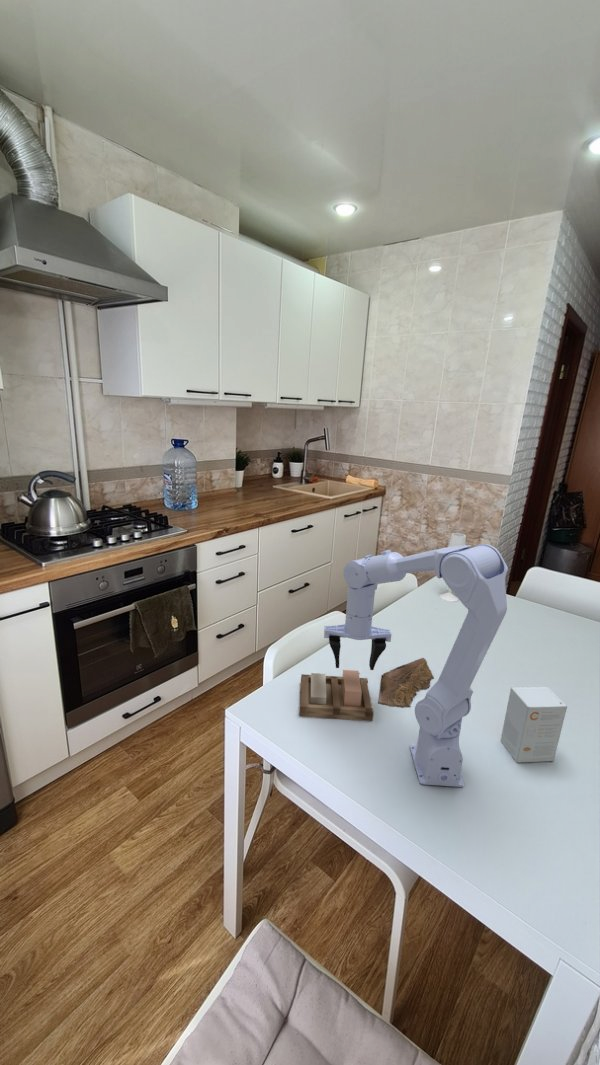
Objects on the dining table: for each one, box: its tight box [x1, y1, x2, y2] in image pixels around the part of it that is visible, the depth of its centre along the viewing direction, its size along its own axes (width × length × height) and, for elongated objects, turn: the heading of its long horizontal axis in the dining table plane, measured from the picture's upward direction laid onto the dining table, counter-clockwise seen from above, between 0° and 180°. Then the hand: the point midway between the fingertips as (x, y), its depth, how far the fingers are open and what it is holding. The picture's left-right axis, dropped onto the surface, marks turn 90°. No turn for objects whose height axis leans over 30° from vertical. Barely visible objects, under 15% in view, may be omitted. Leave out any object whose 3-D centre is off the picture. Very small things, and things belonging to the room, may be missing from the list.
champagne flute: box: [439, 532, 467, 603], centre depth 160 cm, size 7×7×24 cm
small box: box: [500, 686, 568, 763], centre depth 89 cm, size 8×6×13 cm
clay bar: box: [341, 669, 362, 707], centre depth 102 cm, size 8×4×5 cm, turn 178°
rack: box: [299, 672, 375, 722], centre depth 103 cm, size 16×12×4 cm
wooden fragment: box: [377, 657, 435, 708], centre depth 112 cm, size 26×11×1 cm, turn 140°
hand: (354, 666), depth 100 cm, fingers open, 7 cm apart
